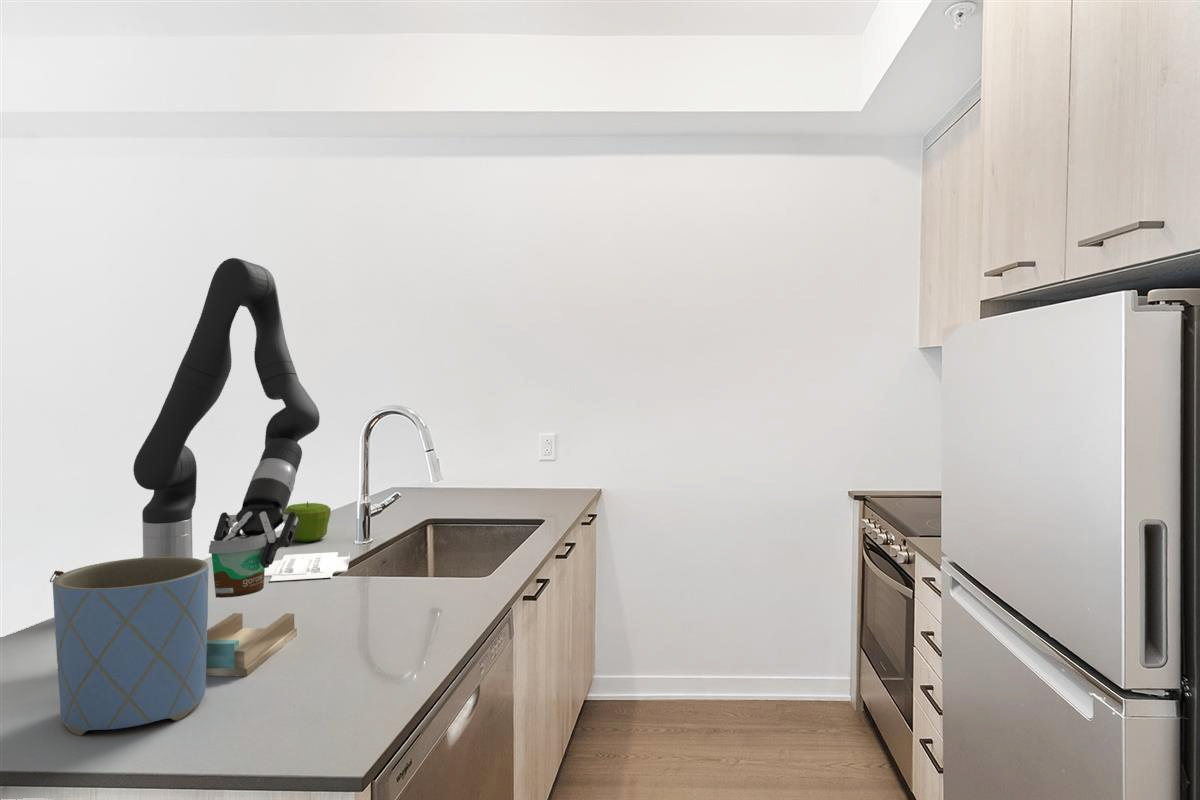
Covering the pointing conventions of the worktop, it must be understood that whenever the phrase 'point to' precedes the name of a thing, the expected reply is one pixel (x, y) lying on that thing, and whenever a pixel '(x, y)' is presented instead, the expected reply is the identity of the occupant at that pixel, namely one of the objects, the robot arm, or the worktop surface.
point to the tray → (307, 566)
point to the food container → (238, 565)
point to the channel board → (244, 644)
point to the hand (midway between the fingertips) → (243, 565)
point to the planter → (131, 641)
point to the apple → (310, 521)
